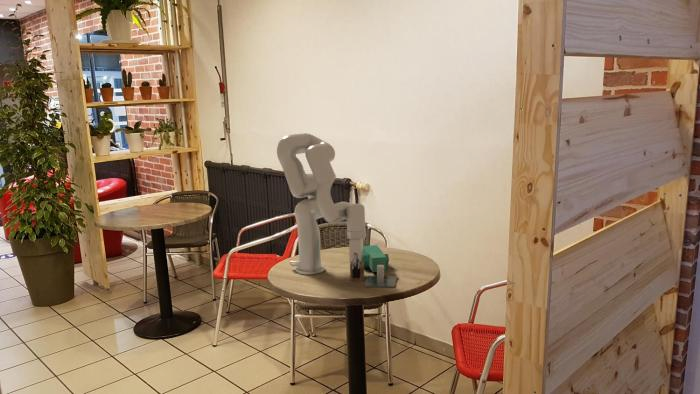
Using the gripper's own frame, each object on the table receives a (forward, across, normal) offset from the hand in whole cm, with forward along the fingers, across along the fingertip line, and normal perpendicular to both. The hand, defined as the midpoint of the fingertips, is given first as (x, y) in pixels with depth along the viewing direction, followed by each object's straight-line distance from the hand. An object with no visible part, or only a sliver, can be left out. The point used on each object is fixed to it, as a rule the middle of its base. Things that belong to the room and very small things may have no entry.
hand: (357, 274), depth 217 cm
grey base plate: (+2, +4, +10) cm, 11 cm away
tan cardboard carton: (+2, 0, 0) cm, 2 cm away
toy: (+2, -19, +4) cm, 19 cm away
